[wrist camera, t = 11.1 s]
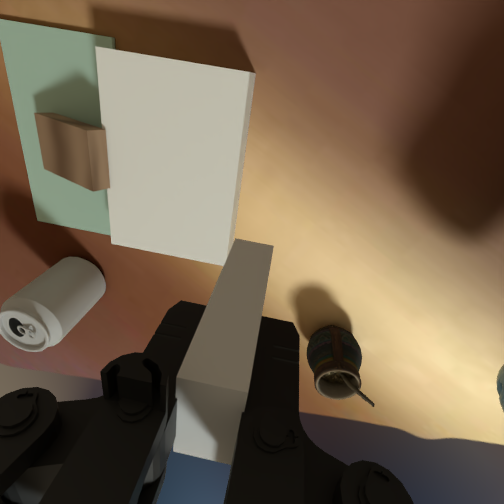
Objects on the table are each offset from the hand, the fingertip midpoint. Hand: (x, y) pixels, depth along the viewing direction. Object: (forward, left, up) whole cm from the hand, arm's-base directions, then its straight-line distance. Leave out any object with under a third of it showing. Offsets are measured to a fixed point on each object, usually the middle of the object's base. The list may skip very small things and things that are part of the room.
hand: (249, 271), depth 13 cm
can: (+25, +22, -25) cm, 41 cm away
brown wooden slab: (+22, +3, -22) cm, 31 cm away
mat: (+24, +3, -24) cm, 35 cm away
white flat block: (+11, +3, -24) cm, 27 cm away
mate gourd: (-12, +24, -25) cm, 36 cm away
